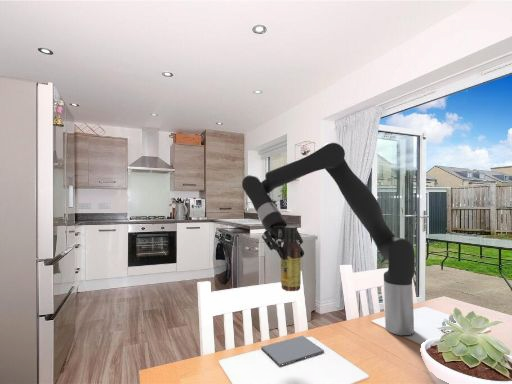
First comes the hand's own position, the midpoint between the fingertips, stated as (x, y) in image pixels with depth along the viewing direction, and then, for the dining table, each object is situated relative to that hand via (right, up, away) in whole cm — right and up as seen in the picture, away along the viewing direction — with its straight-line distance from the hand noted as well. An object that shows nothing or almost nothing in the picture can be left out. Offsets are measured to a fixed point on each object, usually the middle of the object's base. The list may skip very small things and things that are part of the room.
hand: (294, 257), depth 86 cm
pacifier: (+57, -30, +11) cm, 65 cm away
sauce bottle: (-1, -11, +1) cm, 11 cm away
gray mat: (-1, -29, 0) cm, 29 cm away
